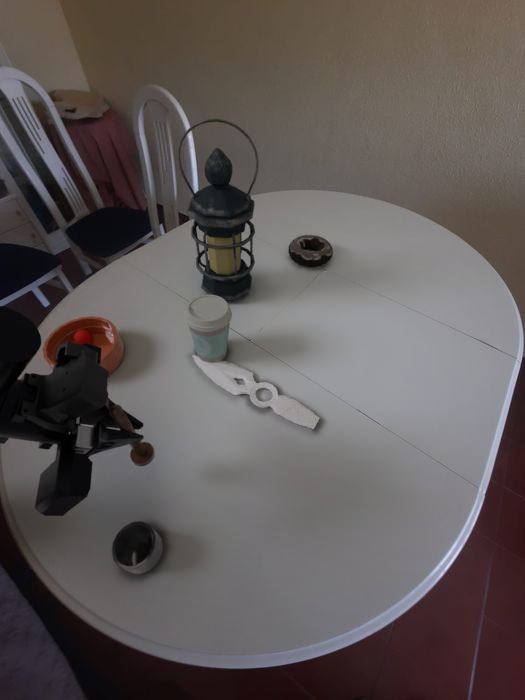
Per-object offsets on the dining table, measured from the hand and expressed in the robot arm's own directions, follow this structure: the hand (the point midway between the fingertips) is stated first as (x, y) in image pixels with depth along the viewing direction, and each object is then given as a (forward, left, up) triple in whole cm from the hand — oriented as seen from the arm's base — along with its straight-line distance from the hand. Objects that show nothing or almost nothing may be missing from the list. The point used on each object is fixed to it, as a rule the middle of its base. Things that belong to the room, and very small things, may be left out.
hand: (141, 432), depth 43 cm
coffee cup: (+16, +19, -13) cm, 28 cm away
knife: (+19, +8, -14) cm, 25 cm away
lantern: (+27, +36, -14) cm, 47 cm away
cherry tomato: (-6, +32, -11) cm, 35 cm away
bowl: (-6, +29, -13) cm, 32 cm away
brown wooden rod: (-1, 0, -7) cm, 7 cm away
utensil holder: (-6, -9, -13) cm, 17 cm away
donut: (+52, +38, -14) cm, 66 cm away
